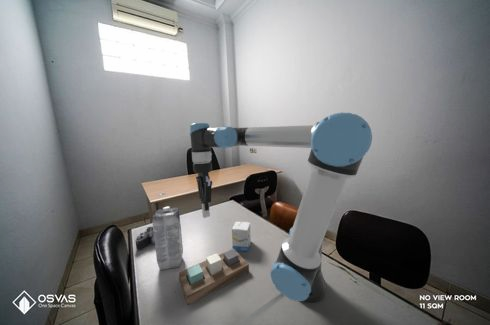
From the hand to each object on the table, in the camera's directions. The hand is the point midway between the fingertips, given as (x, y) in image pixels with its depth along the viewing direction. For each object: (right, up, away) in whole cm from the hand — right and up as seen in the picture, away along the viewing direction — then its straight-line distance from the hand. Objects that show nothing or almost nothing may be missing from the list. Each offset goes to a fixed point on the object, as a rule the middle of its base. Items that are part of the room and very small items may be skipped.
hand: (206, 216), depth 74 cm
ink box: (+15, -22, +18) cm, 32 cm away
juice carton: (-18, -24, +7) cm, 31 cm away
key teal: (-3, -24, -5) cm, 25 cm away
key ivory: (+4, -22, -1) cm, 22 cm away
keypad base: (+4, -25, -1) cm, 25 cm away
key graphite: (+10, -22, +3) cm, 25 cm away
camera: (-35, -23, +23) cm, 47 cm away
